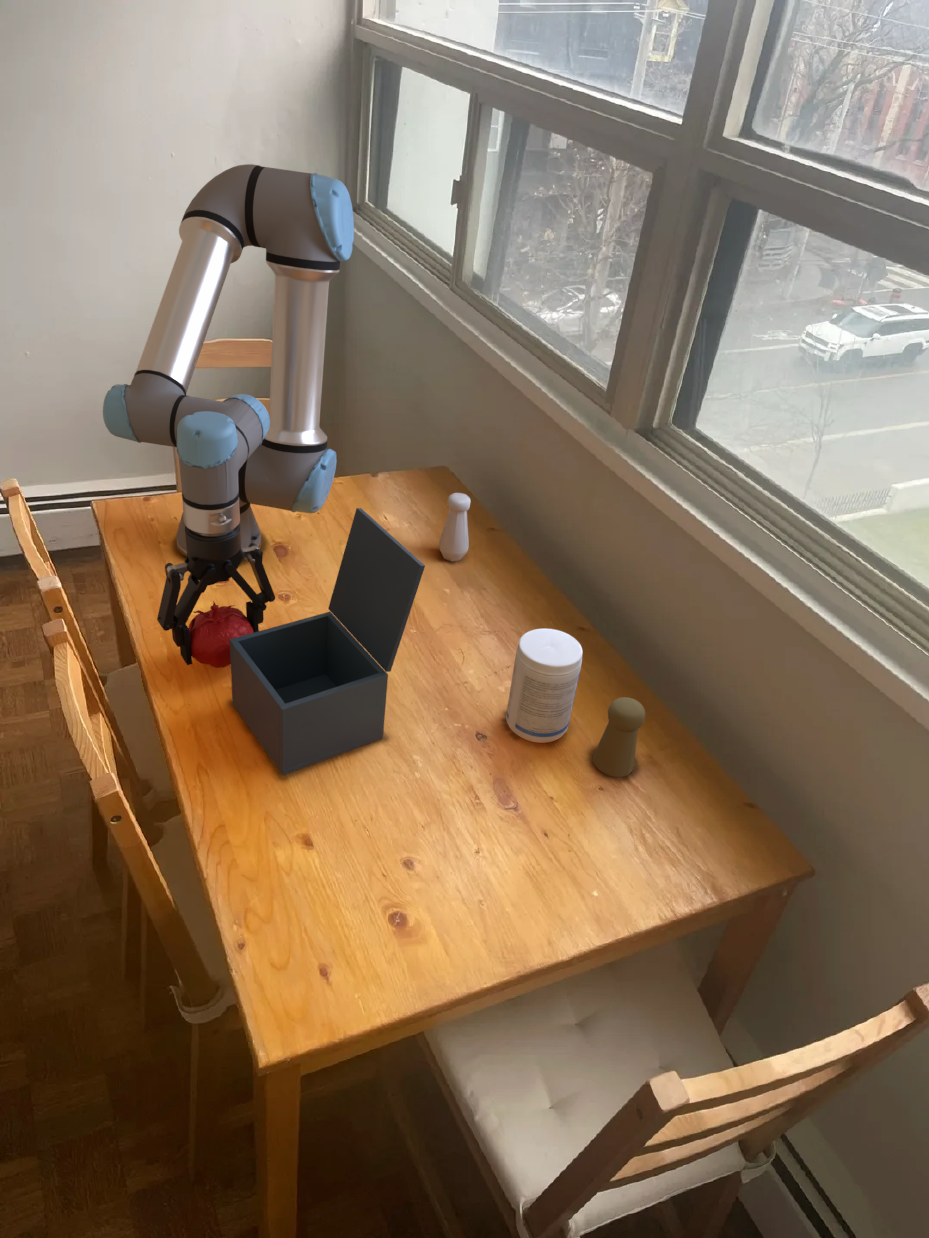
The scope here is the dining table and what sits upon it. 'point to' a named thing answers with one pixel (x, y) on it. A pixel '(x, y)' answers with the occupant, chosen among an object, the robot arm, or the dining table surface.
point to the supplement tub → (543, 685)
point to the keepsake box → (307, 691)
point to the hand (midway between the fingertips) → (220, 649)
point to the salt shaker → (455, 528)
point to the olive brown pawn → (619, 738)
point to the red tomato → (216, 634)
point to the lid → (375, 588)
